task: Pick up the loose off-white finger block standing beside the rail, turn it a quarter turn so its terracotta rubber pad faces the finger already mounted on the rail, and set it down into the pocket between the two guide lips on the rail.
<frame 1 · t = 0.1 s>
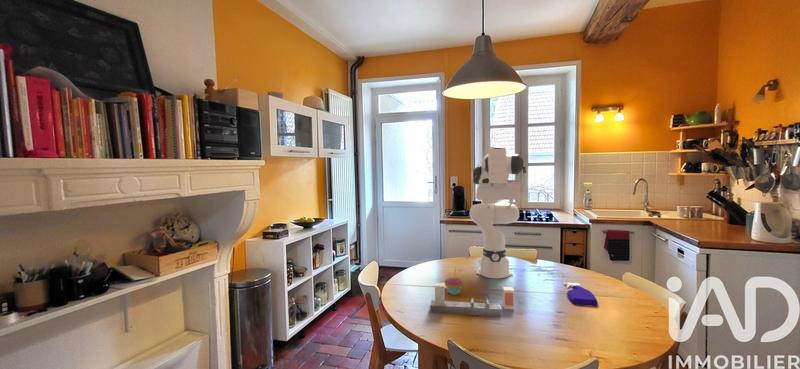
hand: (498, 209, 159), 39 cm above the table, tool pointing down, fingers open, 8 cm apart
rail: (465, 311, 139), on the table
cupcake: (454, 293, 159), on the table
purple flat bottle: (578, 295, 154), on the table
finger block: (508, 307, 142), on the table
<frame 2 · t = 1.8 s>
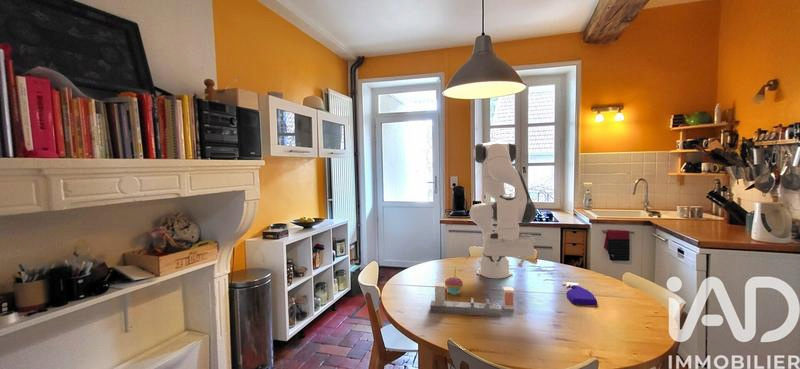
hand: (508, 266, 141), 17 cm above the table, tool pointing down, fingers open, 8 cm apart
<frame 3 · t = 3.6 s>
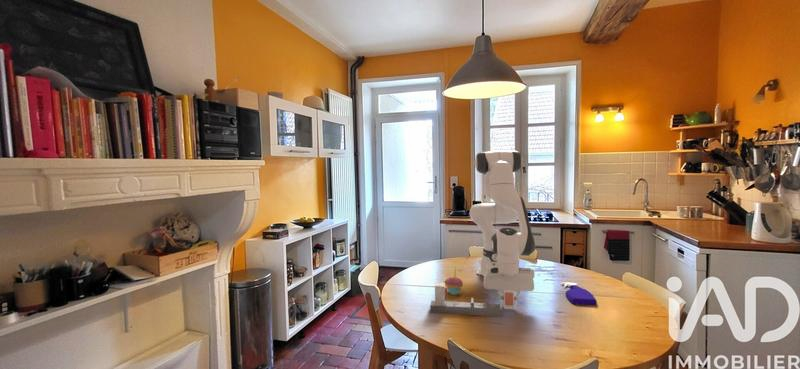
hand: (508, 299, 142), 3 cm above the table, tool pointing down, fingers closed on finger block, 4 cm apart
finger block: (508, 307, 142), on the table, touching gripper
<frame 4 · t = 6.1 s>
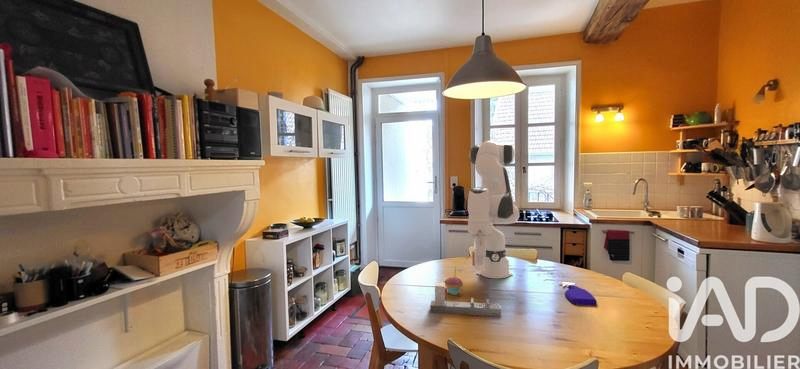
hand: (479, 262, 136), 21 cm above the table, tool pointing down, fingers closed on finger block, 4 cm apart
finger block: (479, 269, 137), point 18 cm above the table, touching gripper
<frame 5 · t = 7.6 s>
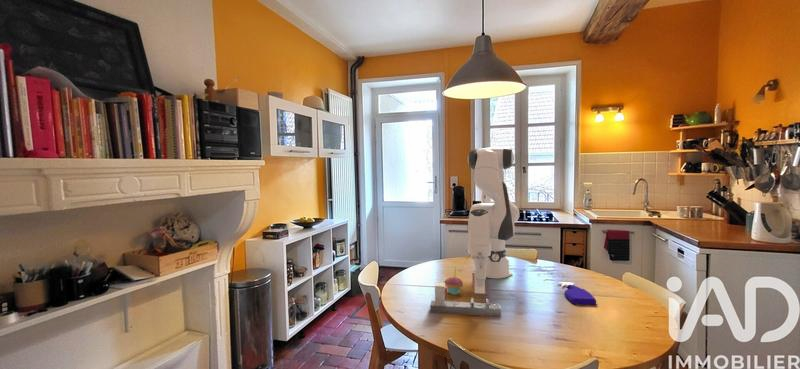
hand: (479, 283, 137), 12 cm above the table, tool pointing down, fingers closed on finger block, 4 cm apart
finger block: (479, 291, 137), point 9 cm above the table, touching gripper
when the fingers open (8 cm above the table, at t = 8.8 s): finger block drops 1 cm, resting on rail.
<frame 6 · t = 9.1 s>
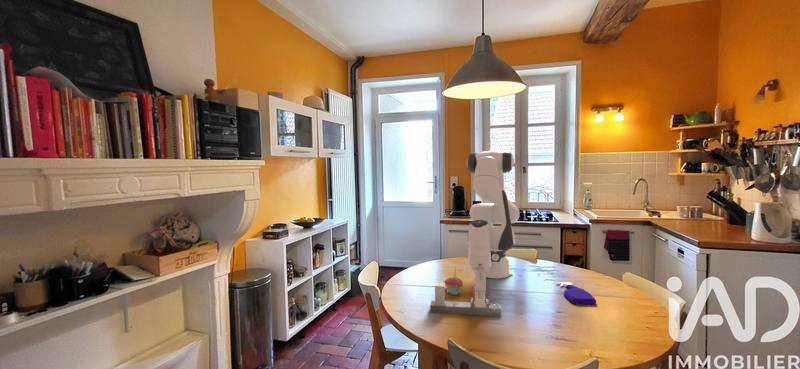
hand: (479, 294, 137), 8 cm above the table, tool pointing down, fingers open, 7 cm apart
finger block: (479, 305, 138), point 3 cm above the table, touching rail
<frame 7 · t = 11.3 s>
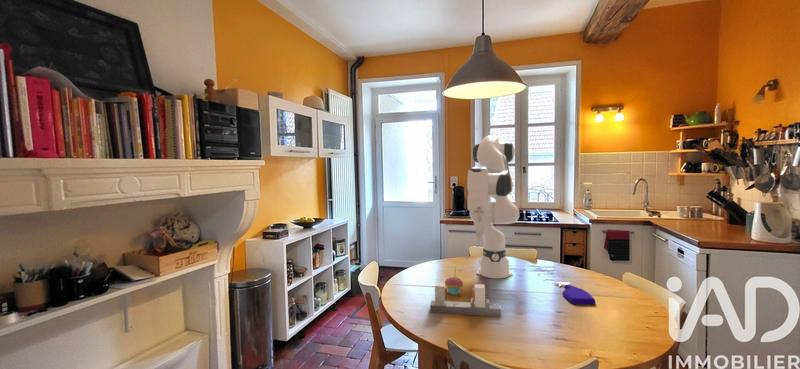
hand: (478, 238, 142), 29 cm above the table, tool pointing down, fingers open, 8 cm apart
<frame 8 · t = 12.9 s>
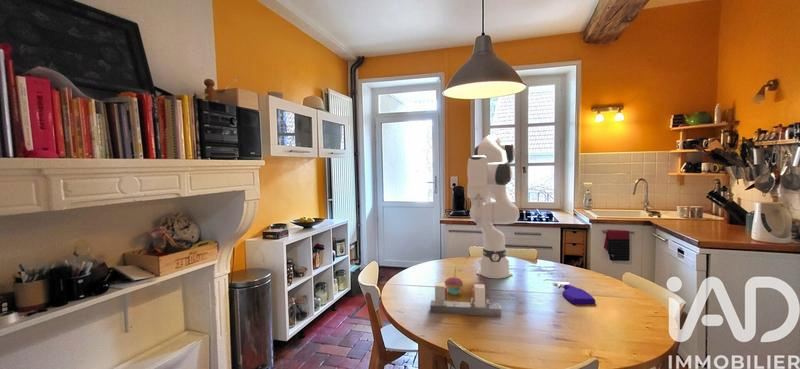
hand: (478, 225, 144), 34 cm above the table, tool pointing down, fingers open, 8 cm apart
at the end: finger block 0.1 cm from the target spot on the rail, point 3.0 cm above the rail's base; finger block tilted 0°; the gripper is holding nothing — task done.
